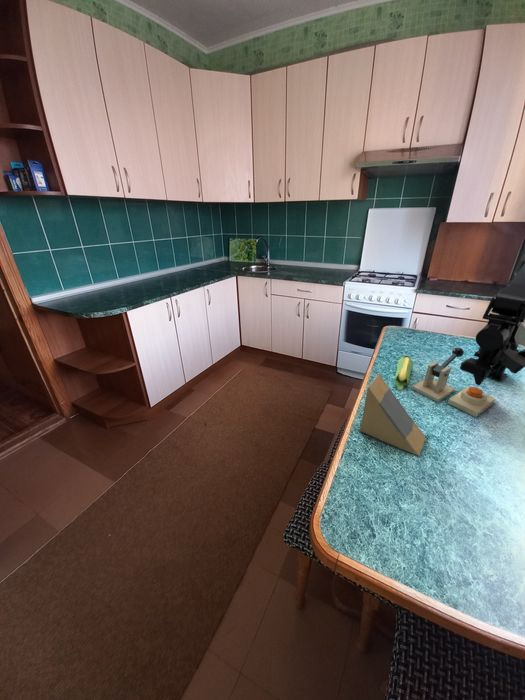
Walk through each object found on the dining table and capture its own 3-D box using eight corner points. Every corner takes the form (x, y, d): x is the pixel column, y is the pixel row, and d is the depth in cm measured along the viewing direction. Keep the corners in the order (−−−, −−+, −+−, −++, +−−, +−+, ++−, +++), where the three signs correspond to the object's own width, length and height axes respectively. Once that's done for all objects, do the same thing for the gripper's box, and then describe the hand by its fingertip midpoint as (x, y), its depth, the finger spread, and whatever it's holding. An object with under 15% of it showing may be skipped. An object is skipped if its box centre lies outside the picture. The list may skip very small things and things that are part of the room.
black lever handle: (455, 351, 100) (456, 344, 98) (465, 354, 97) (466, 347, 95) (430, 374, 96) (431, 368, 94) (440, 379, 93) (441, 372, 91)
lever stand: (427, 379, 103) (434, 356, 99) (454, 391, 96) (462, 367, 92) (411, 388, 98) (417, 365, 94) (437, 402, 92) (445, 377, 87)
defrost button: (470, 390, 92) (472, 385, 91) (483, 395, 89) (485, 391, 88) (464, 393, 90) (466, 389, 89) (477, 399, 87) (479, 395, 86)
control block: (466, 390, 97) (469, 381, 95) (493, 402, 91) (497, 393, 89) (447, 403, 91) (450, 394, 89) (475, 417, 85) (479, 407, 83)
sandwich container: (419, 457, 72) (434, 409, 65) (359, 431, 81) (367, 386, 74) (426, 437, 78) (441, 391, 71) (370, 414, 87) (378, 372, 80)
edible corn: (412, 366, 112) (415, 355, 109) (407, 393, 96) (410, 381, 94) (398, 363, 114) (400, 352, 112) (390, 389, 98) (393, 377, 96)
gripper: (517, 358, 70) (494, 409, 77) (545, 339, 79) (522, 386, 86) (467, 342, 78) (451, 389, 86) (498, 326, 87) (481, 370, 95)
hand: (478, 384), depth 88 cm, fingers closed
